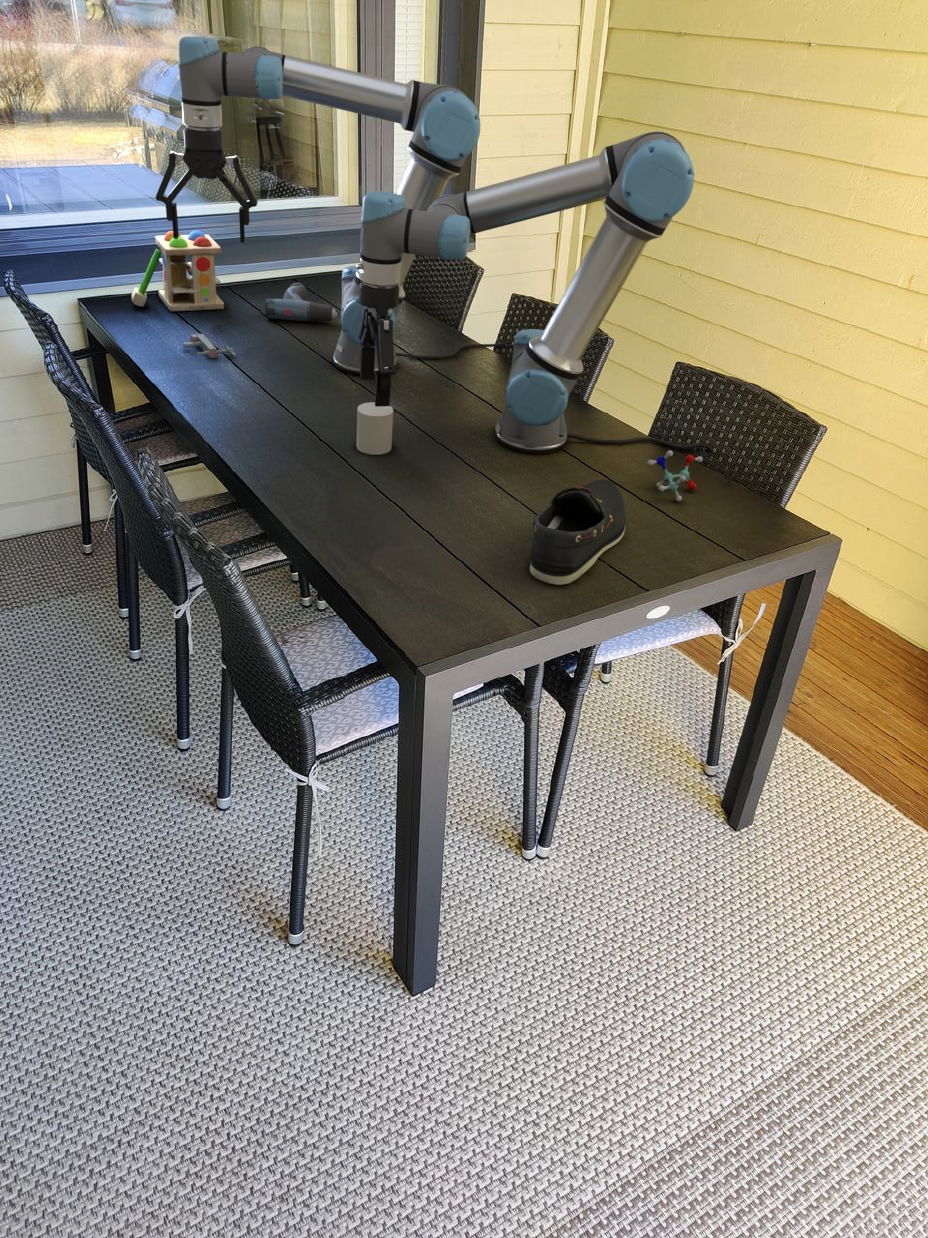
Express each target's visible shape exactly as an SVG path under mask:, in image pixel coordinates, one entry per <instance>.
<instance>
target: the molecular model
mask: <svg viewBox="0 0 928 1238" xmlns="http://www.w3.org/2000/svg"><path fill="white" fill-rule="evenodd" d="M673 455H674V452H673V450H667V451H666V454H664V456H658V457H657V458H656V459H655V460H652V459H648V460H647V462H646V464H647V466H649V467H652V466H654V465H656V464H657V465H658V466H661V468H662V470H663V472H664V475H663V479H662V480H661V481H658V482H657V483H656V485H655V486H656V488H657V490H658V491H659V492H662V493H663V492H664V491H665V490H669V491H671V492H673V493H674V495H675V502H678V503H680V502H681V501H682V500H683V497H682V496H681V495H680V494H679V492H678V489H679V485H680V484H681V483H684V482H685V483H686V484H687V487H688V490H689V491H695V490H696V489H697V484H696V483H695V482H693V481H692V479H691V477H690V472H689V471H688V470H689V467H690V464H692V463H693V462H697V463H702V462H703V461H704V458H703V457H702V456H697V457H694V456H693V455H691V454H688V455H686V456H685V462H686V464H685V466H684V469H683V470H681V471H680V472H679V473H678V474H673V473H671V472H669V471H668V469H667V467H666V460H667V459H668V458H670V457H673ZM677 478H678V480H677V481H673V480H674V479H677ZM665 483H668V485H665V486H664V484H665Z"/></svg>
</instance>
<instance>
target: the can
mask: <svg viewBox="0 0 928 1238" xmlns="http://www.w3.org/2000/svg"><path fill="white" fill-rule="evenodd" d="M356 410H357V412H356V413H357V414H356V449H357V451H358V452H361V453H363V454H366V455H374V456H377V455H385V454H387V453H390V452H391V451H392V448H393V447H392V446H393V428H394V427H393V425H394V424H393V423H394V408H393V407H392V406H391V405H389V406H380V407H376V406H375V401H372V402H371V401H370V402H364V403H361V404H359V405H358V406H357V409H356Z"/></svg>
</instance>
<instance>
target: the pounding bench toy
mask: <svg viewBox="0 0 928 1238" xmlns="http://www.w3.org/2000/svg"><path fill="white" fill-rule="evenodd" d="M154 240H155V242H154V243H156V246H158V247H159V249H158V248H156V249H155V250H154V252H153V255H152V257H151V259H150V261H149V264H148V266H147V269H146V271H145V273H144V276H143V277H142V280H141V283H140V285H139V287H136V286H135V287H134V289H133V291H132V293H131V301H132V303H133V304H134V305H135V306H137V307H141V308H143V307H144V306H145V304H146V303H147V299H148V295H147V291H148V287H149V285H150V282H151V280H152V277H153V275H154V273H155V270H156V268H157V265H158V263H160V265H162V279H163V289H159V290H158V297H159V299H161V301H162V302H163V303H164V305H165V306H166V307H167V308H168V310H169V311H170V312H186V311H205V310H206V311H207V310H208V311H209V310H224V309H225V304H224V301H223V300H222V299H221V298H220V297H219V296H218V294H217V285H218V284H221V280H220V279H219V278H218V277H217V276H216V263H215V260H216V259H215V255H221V254H222V248H221V246H220V245H219V244H218V243H217V241H215V239H213V238H212V237H211V235H210V234H204V232H202V231H201V230H192V231H191V232H190V233H189V234H180V233H179V236H178V239H174V237H173V230H169V231H167V232H166V233H165V235H155V236H154ZM186 256H190V260H191V261H188V262H187V260H186V259H187V258H186ZM187 273H188V275H189V277H188V275H187Z"/></svg>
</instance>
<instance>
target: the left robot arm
mask: <svg viewBox="0 0 928 1238" xmlns="http://www.w3.org/2000/svg"><path fill="white" fill-rule="evenodd" d="M177 65H178V71H179V72H178V73H179V84H180V85H179V86H180V96H181V112H182V124H183V125H184V126H185V127H184V129H183V141H184V142H183V143H184V153H180V152H177V151H176V150H171V151H170V152H169V155H168V164H167V165H168V166H167V168H166V170H165V173H164V175H163V176H162V177H163V178H162V180H161V183H160V185H159V187H158V189H157V192H156V195H155V200H156V201H158V202H162V203H163V204H164V206H165V216H166V220H167V221H168V222H172V231H173V237H174V239H178V236H179V234H180V232H179V231H180V230H179V219H178V218H179V217H178V207H177V202H174V200H175V199H176V198H177V197H178V195H179V194H180V193H181V191H182V190H183V189H184V187H185V186H187V184H188V182H189V181H190V180H191V179H192V177H193V176H194V177H195V178H197V179H200V180H202V179H208V180H215V179H216V178H217V179H218V180H219V181H220V182H221V184H223V186H224V187H225V188H226V190H228V192H229V193H230V194H231V195H232V197H233V198H234V199H235V200H236V201H237V203H238V204H239V205H240V206H239V208H238V217H239V238H240V239H239V243H245V241H246V234H245V231H246V230H245V226H249V225H250V222H251V221H250V220H251V219H250V209H251V208H254V207H257V206H258V202H259V201H258V199H257V196H256V194H255V192H254V190H253V188H252V186H251V184H250V182H249V180H248V178H247V176H246V173H245V172H244V170H243V167H242V165H241V158H240V156H239V154H235V155H234V156H226V155H225V152H224V133H223V132H224V131H223V130H222V129H221V127H222V126H223V112H222V111H223V110H222V99H221V98H222V96H223V97H224V96H225V97H236V98H237V97H239V98H248V99H249V98H250V99H257V100H258V99H260V100H261V101H266V100H267V101H268V100H275V101H276V100H280V99H281V98H282V96H283V97H286V98H289V99H291V98H292V99H295V100H300V101H303V102H308V103H311V104H316V105H320V106H325V107H329V108H334V109H337V110H341V111H345V112H349V113H353V114H358V115H363V116H367V117H371V118H375V119H378V120H379V119H380V120H382V121H388V122H391V123H394V124H395V123H396V124H399V125H400V126H401V128H402V130H404V131H407V132H412V136H411V138H410V141H409V144H408V146H407V150H408V154H409V155H410V160H409V163H408V166H407V168H406V170H405V172H404V175H403V177H402V180H401V183H400V185H399V187H398V189H397V192H396V194H399V195H401V196H402V197H403V198H404V203H405V208H409V209H413V210H420V211H427V210H428V208H429V206H430V204H431V203H432V202H433V201H434V200H435V199H436V198H438V197H440V196H442V195H443V193H444V191H445V188H446V186H447V184H448V181H449V180H450V179H451V178H454V177H457V176H459V175H460V173H461V171H462V168H463V166H464V165H465V161H466V160H467V157H468V156H469V155H470V153H472V152H473V150H474V149H475V147H476V146H477V144H478V142H479V139H480V135H481V118H480V114H479V113H480V112H479V111H478V108H477V107H476V105H475V104H474V102H473V101H472V100H471V99H470V97H468V95H467V94H466V93H465V92H464V91H462V89H460V88H458V87H456V86H453V85H448V84H447V85H446V84H439V83H431V82H429V83H428V82H424V81H419V80H414V79H411V80H409V81H408V82H406V83H404V82H400V81H396V80H391V79H387V78H383V77H379V76H375V75H370V74H367V73H363V72H358V71H354V70H351V69H346V68H342V67H338V66H333V65H329V64H325V63H321V62H317V61H313V60H309V59H304V58H301V57H297V56H292V55H288V54H282V53H279V52H274V51H271V50H269V49H268V48H266V47H262V46H251V47H249V48H247V49H246V50H245V51H244V52H229V51H224V50H220V47H219V42H218V41H217V40H216V39H215V38H211V37H205V36H183V37H181V38H180V39H179V41H178V63H177ZM181 161H183V162H184V164H185V165H186V166H187V168H188V169H187V170H186V172H185V173H184V174H183V176H182V177H181V178H180V180H179V181H178V182H177V184H176V185H175V186H174V187H173V188H172V190H171V191H170V192H169V194H168V195H167V194H165V193H166V191H167V189H168V187H169V184H170V181H171V179H172V176H173V174H174V171H175V170H176V166H178V165H179V164H181ZM226 164H228V165H229V167H230V168H231V169H234V173H235V175H236V177H237V178H238V181H239V183H240V184H241V186H242V189H243V191H244V193H245V194H246V197H247V198H246V197H245V196H244V195H243V193H242V192H241V191H240V190H239V189H238V187H237V186H236V185H235V184H234V182H233V181H232V180H231V178H229V176H228V174H227V173H226V172H225V170H224V168H225V166H226ZM415 257H416V255H414V254H406V253H402V254H401V276H400V282H399V283H398V286H399V303H398V305H397V306H396V307H395V308H391V309H389V310H388V316H390V320H393V332H394V331H395V327H396V318H397V316H398V313H399V310H400V308H401V306H402V304H403V302H404V299H405V297H406V293H405V290H404V287H403V285H404V282H405V280H406V277H407V275H408V273H409V271H410V268H411V266H412V263H413V261H414V259H415ZM340 281H341V307H340V308H341V310H340V315H339V316H340V317H339V318H340V319H339V320H340V321H339V322H340V325H341V326H340V329H341V330H340V336H339V338H338V341H337V344H336V346H335V347H336V348H335V350H334V352H333V361H332V362H333V363H332V364H333V366H334V367H335V368H337V369H338V370H339V371H342V372H344V373H347V374H352V375H356V376H360V364H361V347H363V346H361V344H360V342H361V340H359V332H360V326H361V320H362V314H363V308H364V306H363V305H361V304H360V303H359V300H358V298H359V283H360V282H361V280H360V270H359V269H357V265H349V266H346V267H344V268H343V269H342V272H341V277H340ZM510 341H511V340H507V341H502V342H498V343H497V342H496V343H473V344H470V343H469V344H463V345H460V346H459V347H457V348H456V349H455V350H454V351H452V352H451V353H449V354H443V355H418V354H408V353H402V352H395V350H394V367H395V369H396V368H397V361H398V359H397V357H402V358H408V359H419V360H443V359H448V358H452V357H454V356H456V354H457V353H458V352H460V351H462V350H465V349H468V348H469V349H470V348H496V347H501V346H506V345H511V344H510ZM371 347H375V346H371ZM393 348H394V349H395V347H394V346H393ZM385 368H388V367H385ZM376 370H378V366H377V357H376V348H375V364H374V372H375V371H376ZM374 376H376V375H375V374H374Z"/></svg>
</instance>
